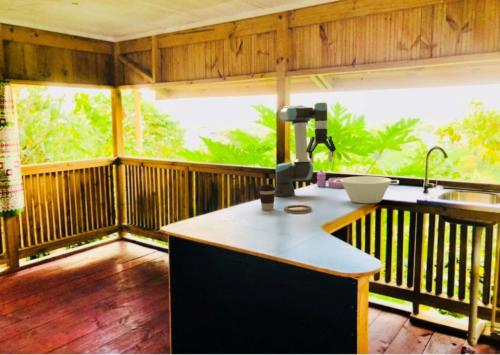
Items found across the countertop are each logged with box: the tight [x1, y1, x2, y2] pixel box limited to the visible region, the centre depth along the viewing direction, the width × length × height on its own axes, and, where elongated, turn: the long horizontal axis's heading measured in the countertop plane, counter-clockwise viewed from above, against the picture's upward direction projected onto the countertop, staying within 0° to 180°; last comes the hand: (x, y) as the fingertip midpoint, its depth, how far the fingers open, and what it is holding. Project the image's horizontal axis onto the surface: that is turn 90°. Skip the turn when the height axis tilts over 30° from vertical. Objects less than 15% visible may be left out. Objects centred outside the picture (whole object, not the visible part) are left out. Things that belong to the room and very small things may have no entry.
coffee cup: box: [258, 183, 276, 211], centre depth 245 cm, size 10×10×15 cm
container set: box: [316, 169, 345, 189], centre depth 322 cm, size 25×15×13 cm, turn 67°
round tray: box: [283, 204, 313, 215], centre depth 239 cm, size 16×16×2 cm
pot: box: [333, 175, 400, 205], centre depth 259 cm, size 40×32×14 cm
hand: (321, 163), depth 246 cm, fingers open, 13 cm apart
